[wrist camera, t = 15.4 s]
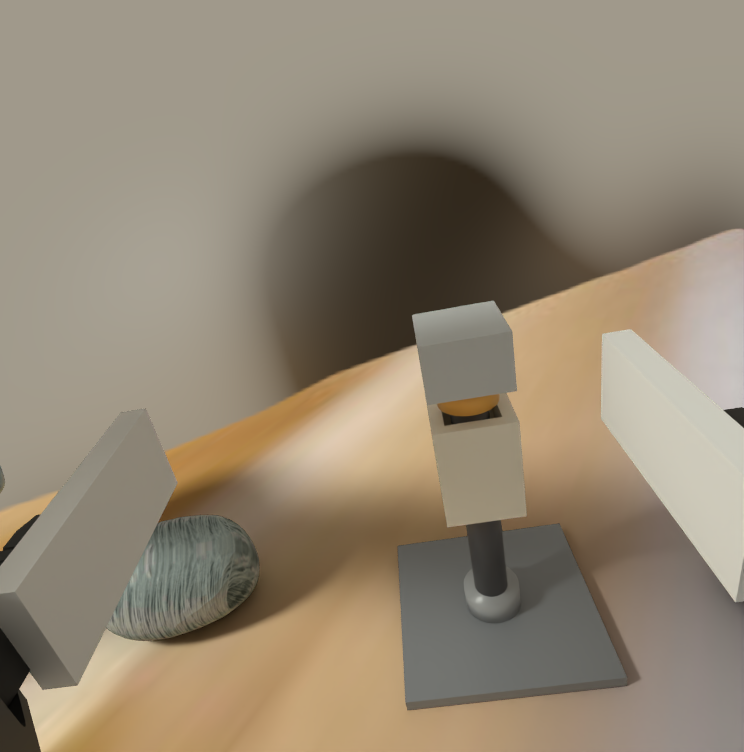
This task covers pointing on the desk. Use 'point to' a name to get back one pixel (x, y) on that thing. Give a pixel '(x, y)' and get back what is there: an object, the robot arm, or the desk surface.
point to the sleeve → (479, 465)
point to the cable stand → (492, 560)
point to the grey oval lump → (186, 578)
